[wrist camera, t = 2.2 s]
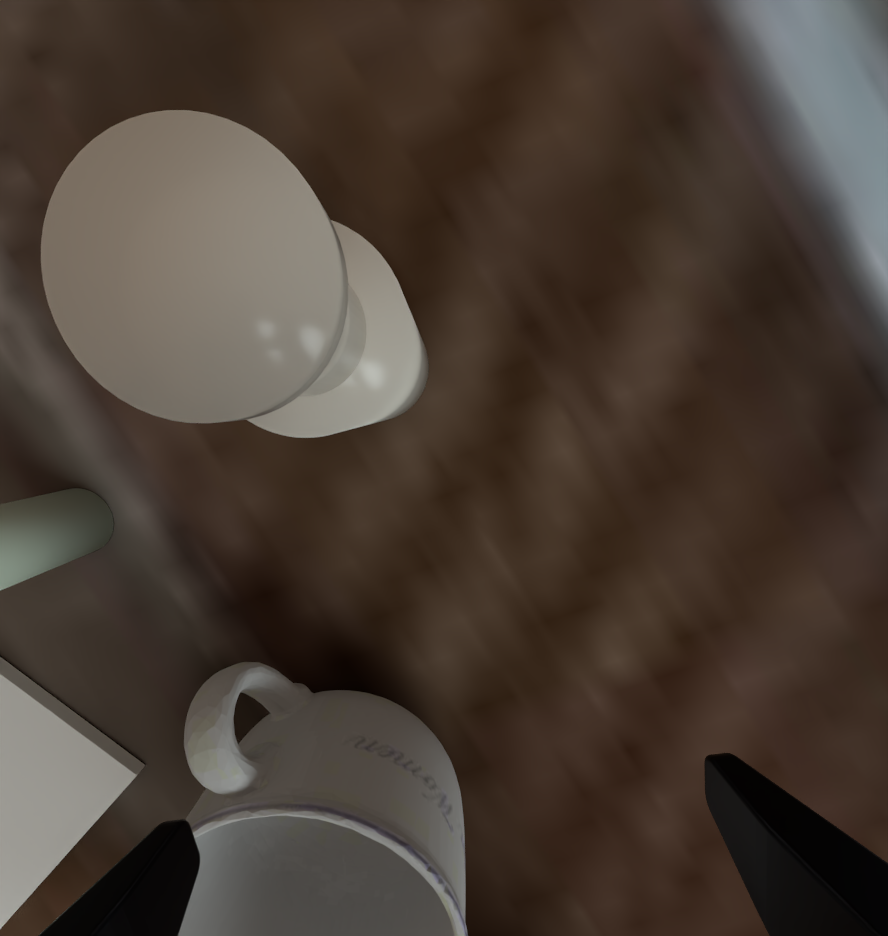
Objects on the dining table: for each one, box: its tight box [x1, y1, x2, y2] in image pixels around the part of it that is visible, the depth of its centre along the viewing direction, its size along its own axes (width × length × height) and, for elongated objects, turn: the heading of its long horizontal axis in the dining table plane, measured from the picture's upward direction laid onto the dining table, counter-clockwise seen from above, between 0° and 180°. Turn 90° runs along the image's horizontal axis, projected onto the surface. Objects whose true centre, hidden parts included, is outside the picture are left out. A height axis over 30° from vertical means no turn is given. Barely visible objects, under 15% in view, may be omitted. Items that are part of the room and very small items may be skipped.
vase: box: [41, 110, 429, 438], centre depth 12 cm, size 5×5×14 cm
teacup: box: [178, 662, 468, 936], centre depth 17 cm, size 14×11×8 cm
